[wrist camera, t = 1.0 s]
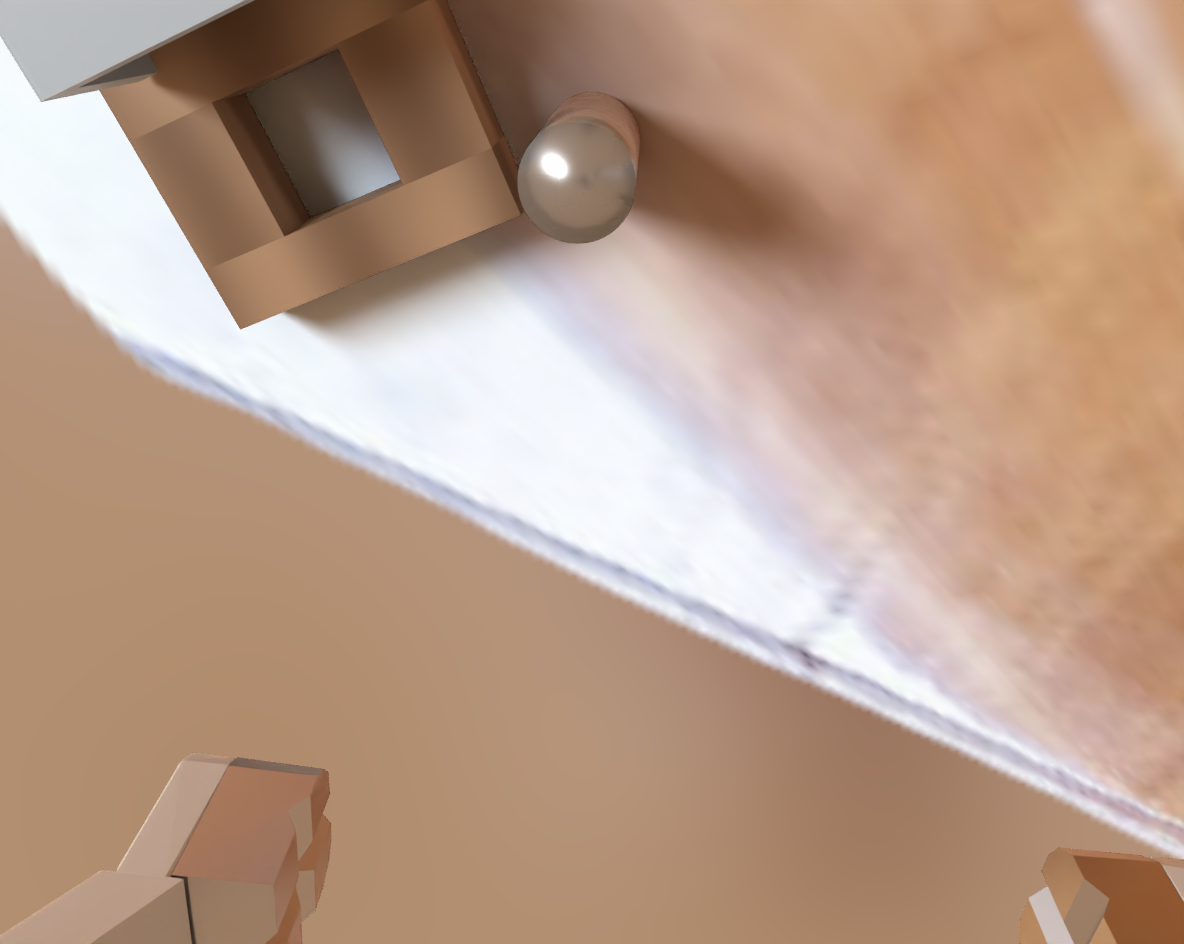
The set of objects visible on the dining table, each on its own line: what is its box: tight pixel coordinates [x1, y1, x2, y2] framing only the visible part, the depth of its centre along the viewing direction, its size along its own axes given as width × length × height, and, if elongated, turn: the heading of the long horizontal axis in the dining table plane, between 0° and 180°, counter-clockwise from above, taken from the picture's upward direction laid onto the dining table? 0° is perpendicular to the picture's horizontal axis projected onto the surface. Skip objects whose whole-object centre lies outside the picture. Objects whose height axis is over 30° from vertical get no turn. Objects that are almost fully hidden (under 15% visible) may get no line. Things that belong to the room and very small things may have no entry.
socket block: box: [100, 0, 524, 329], centre depth 33 cm, size 12×18×3 cm, turn 22°
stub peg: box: [517, 92, 640, 244], centre depth 33 cm, size 4×4×8 cm
